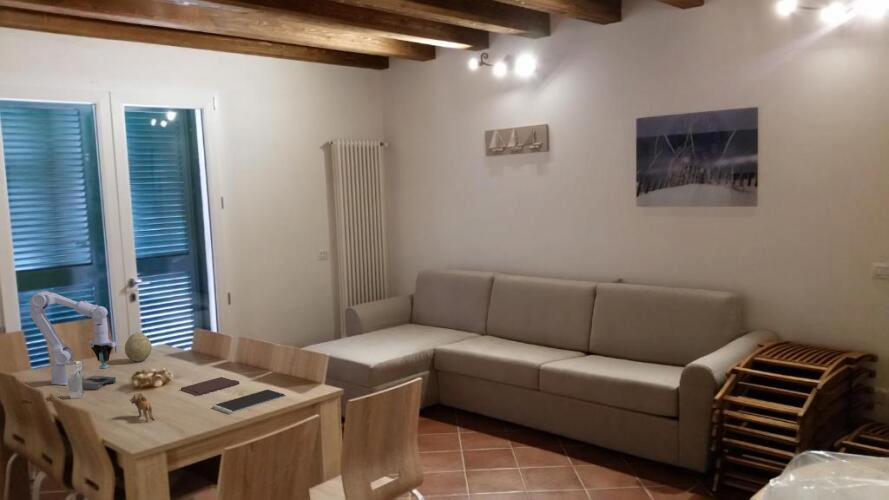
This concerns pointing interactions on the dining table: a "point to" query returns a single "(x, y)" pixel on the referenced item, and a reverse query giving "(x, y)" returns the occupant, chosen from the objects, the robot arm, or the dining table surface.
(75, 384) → the beer glass
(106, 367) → the peg
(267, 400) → the smartphone
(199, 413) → the dining table surface
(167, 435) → the dining table surface
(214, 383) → the notebook
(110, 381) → the keyhole plate
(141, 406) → the lion figurine
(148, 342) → the fossilized egg
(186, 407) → the dining table surface
